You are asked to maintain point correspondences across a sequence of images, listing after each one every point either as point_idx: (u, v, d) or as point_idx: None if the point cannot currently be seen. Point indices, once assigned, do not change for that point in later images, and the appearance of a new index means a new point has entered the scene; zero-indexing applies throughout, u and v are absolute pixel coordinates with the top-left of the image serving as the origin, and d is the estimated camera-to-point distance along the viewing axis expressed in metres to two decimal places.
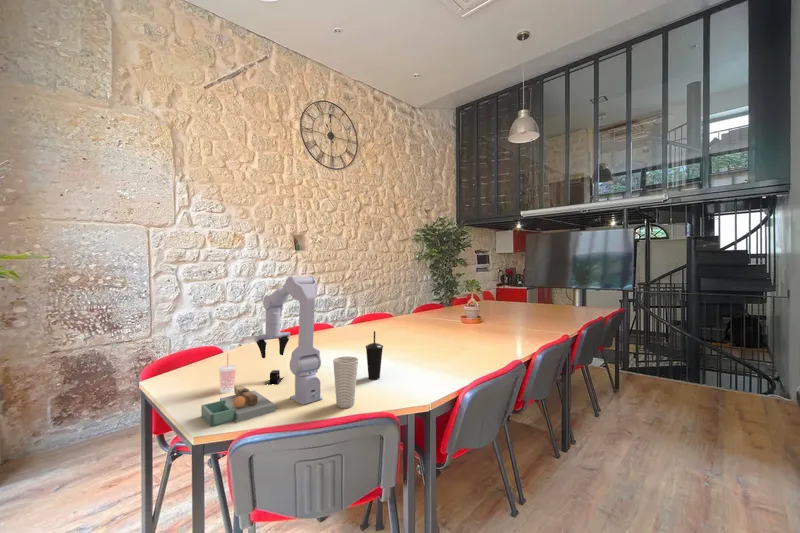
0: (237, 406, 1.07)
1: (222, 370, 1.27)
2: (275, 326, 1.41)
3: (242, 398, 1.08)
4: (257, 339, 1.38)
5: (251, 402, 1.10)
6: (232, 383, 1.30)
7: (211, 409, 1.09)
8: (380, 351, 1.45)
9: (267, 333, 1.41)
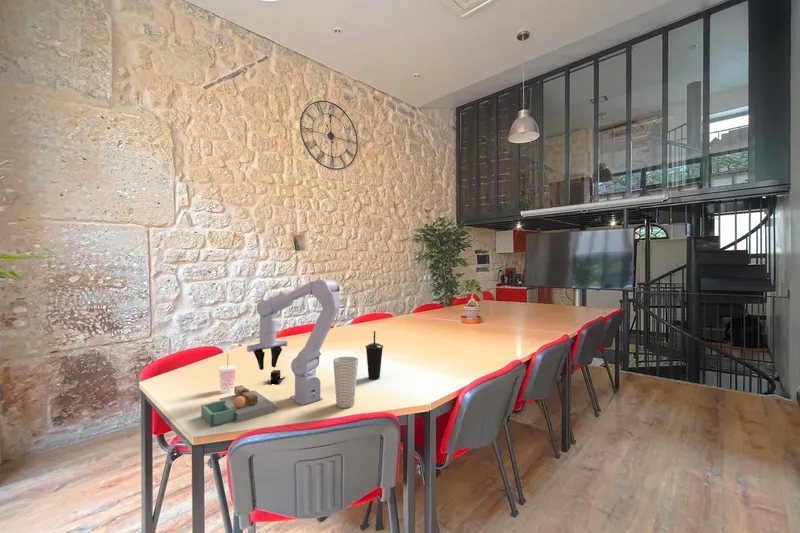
0: (237, 406, 1.07)
1: (222, 370, 1.27)
2: (270, 334, 1.26)
3: (242, 398, 1.08)
4: (250, 349, 1.23)
5: (251, 402, 1.10)
6: (232, 383, 1.30)
7: (211, 409, 1.09)
8: (380, 351, 1.45)
9: (261, 342, 1.26)
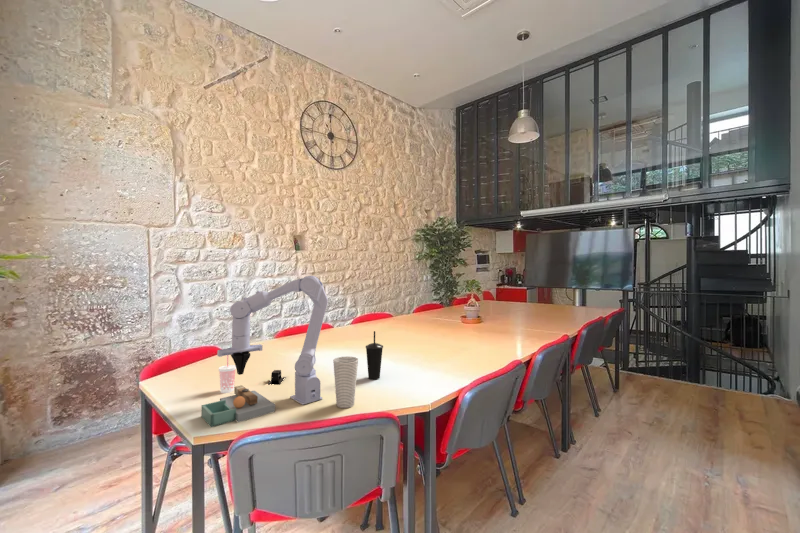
0: (237, 406, 1.07)
1: (222, 370, 1.27)
2: (243, 338, 1.18)
3: (242, 398, 1.08)
4: (220, 354, 1.15)
5: (251, 402, 1.10)
6: (232, 383, 1.30)
7: (211, 409, 1.09)
8: (380, 351, 1.45)
9: (233, 346, 1.18)
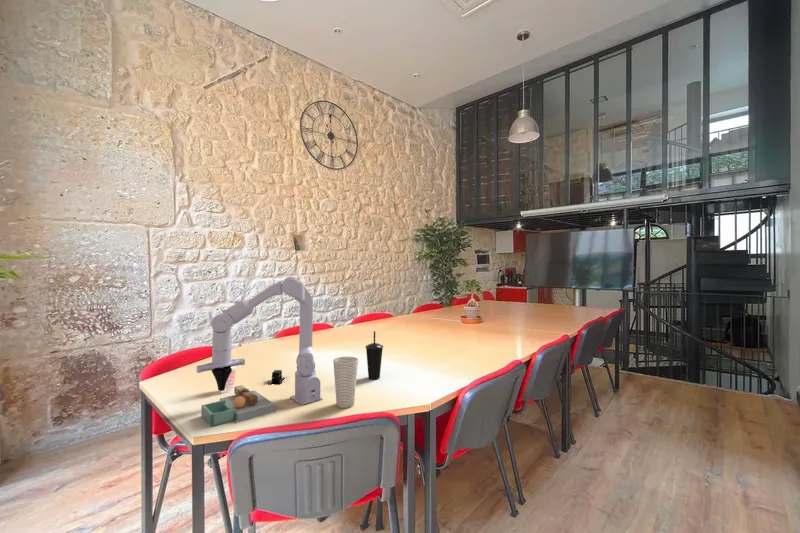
0: (237, 406, 1.07)
1: None
2: (224, 353, 1.13)
3: (242, 398, 1.08)
4: (199, 370, 1.10)
5: (251, 402, 1.10)
6: (232, 383, 1.30)
7: (211, 409, 1.09)
8: (380, 351, 1.45)
9: (213, 362, 1.13)
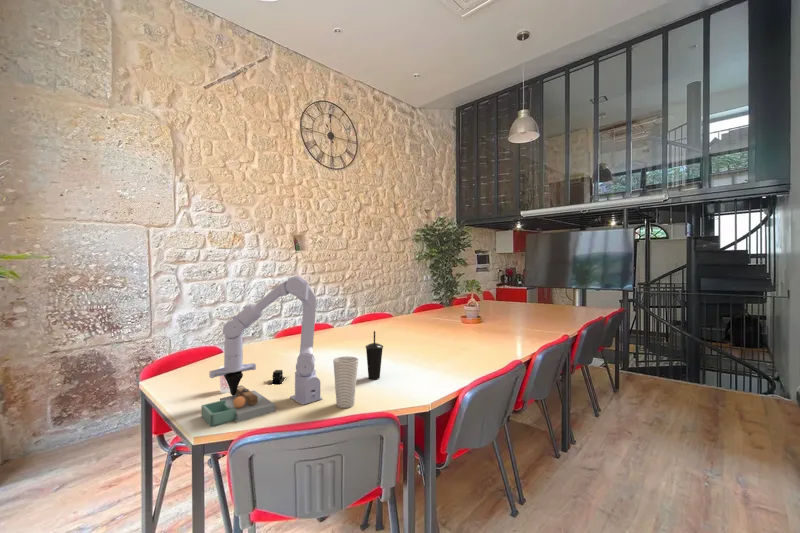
0: (237, 406, 1.07)
1: None
2: (236, 358, 1.16)
3: (242, 398, 1.08)
4: (212, 375, 1.12)
5: (251, 402, 1.10)
6: None
7: (211, 409, 1.09)
8: (380, 351, 1.45)
9: (226, 367, 1.15)
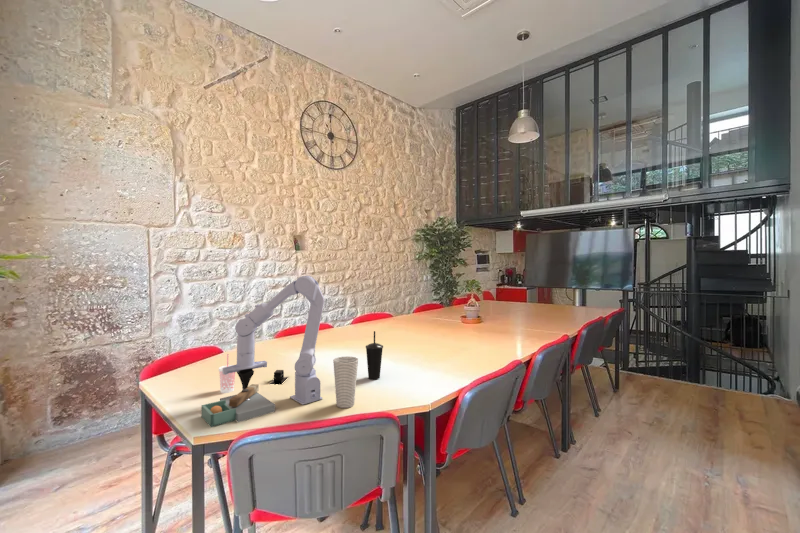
0: (216, 407, 1.05)
1: None
2: (248, 356, 1.19)
3: None
4: (225, 372, 1.15)
5: (230, 404, 1.08)
6: (232, 383, 1.30)
7: None
8: (380, 351, 1.45)
9: (238, 364, 1.18)
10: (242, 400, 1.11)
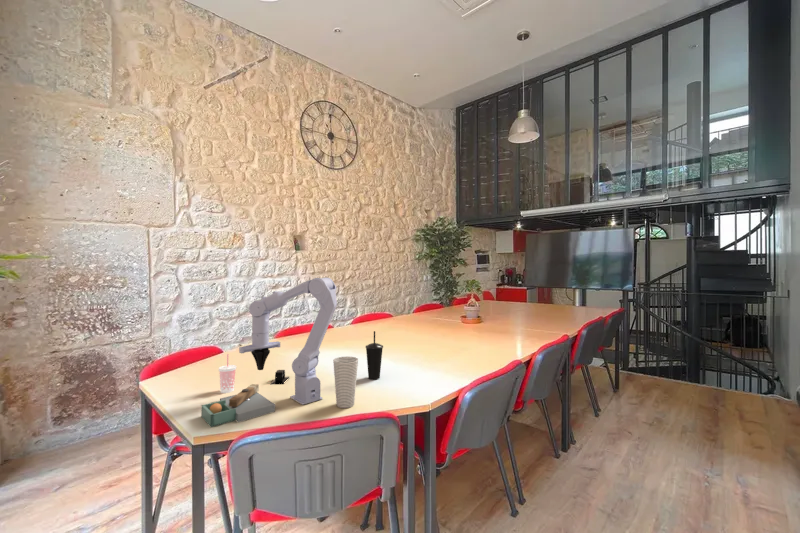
0: None
1: (222, 370, 1.27)
2: (263, 335, 1.24)
3: (217, 407, 1.07)
4: (242, 351, 1.21)
5: (230, 404, 1.08)
6: (232, 383, 1.30)
7: None
8: (380, 351, 1.45)
9: (254, 343, 1.24)
10: (242, 400, 1.11)
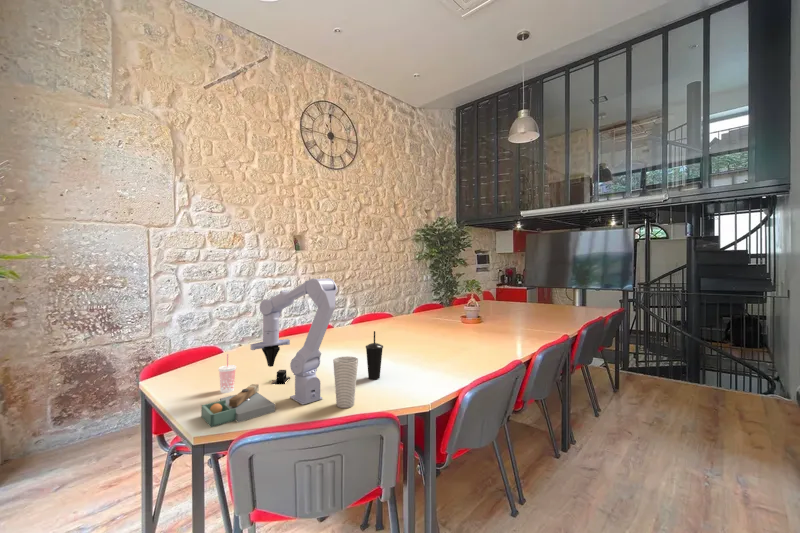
0: None
1: (222, 370, 1.27)
2: (273, 333, 1.29)
3: (218, 408, 1.07)
4: (253, 347, 1.25)
5: (230, 404, 1.08)
6: (232, 383, 1.30)
7: None
8: (380, 351, 1.45)
9: (264, 341, 1.28)
10: (242, 400, 1.11)
